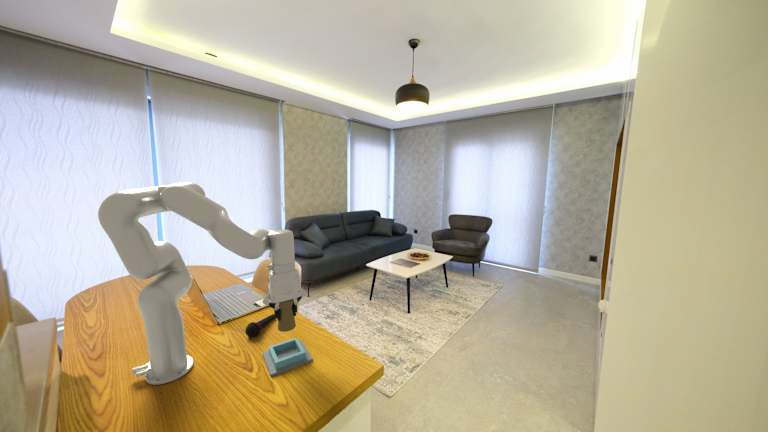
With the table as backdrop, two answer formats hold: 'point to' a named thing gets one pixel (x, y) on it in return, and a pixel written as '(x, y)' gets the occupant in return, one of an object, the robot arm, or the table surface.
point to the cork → (286, 316)
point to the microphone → (258, 326)
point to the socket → (286, 356)
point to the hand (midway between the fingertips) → (286, 316)
